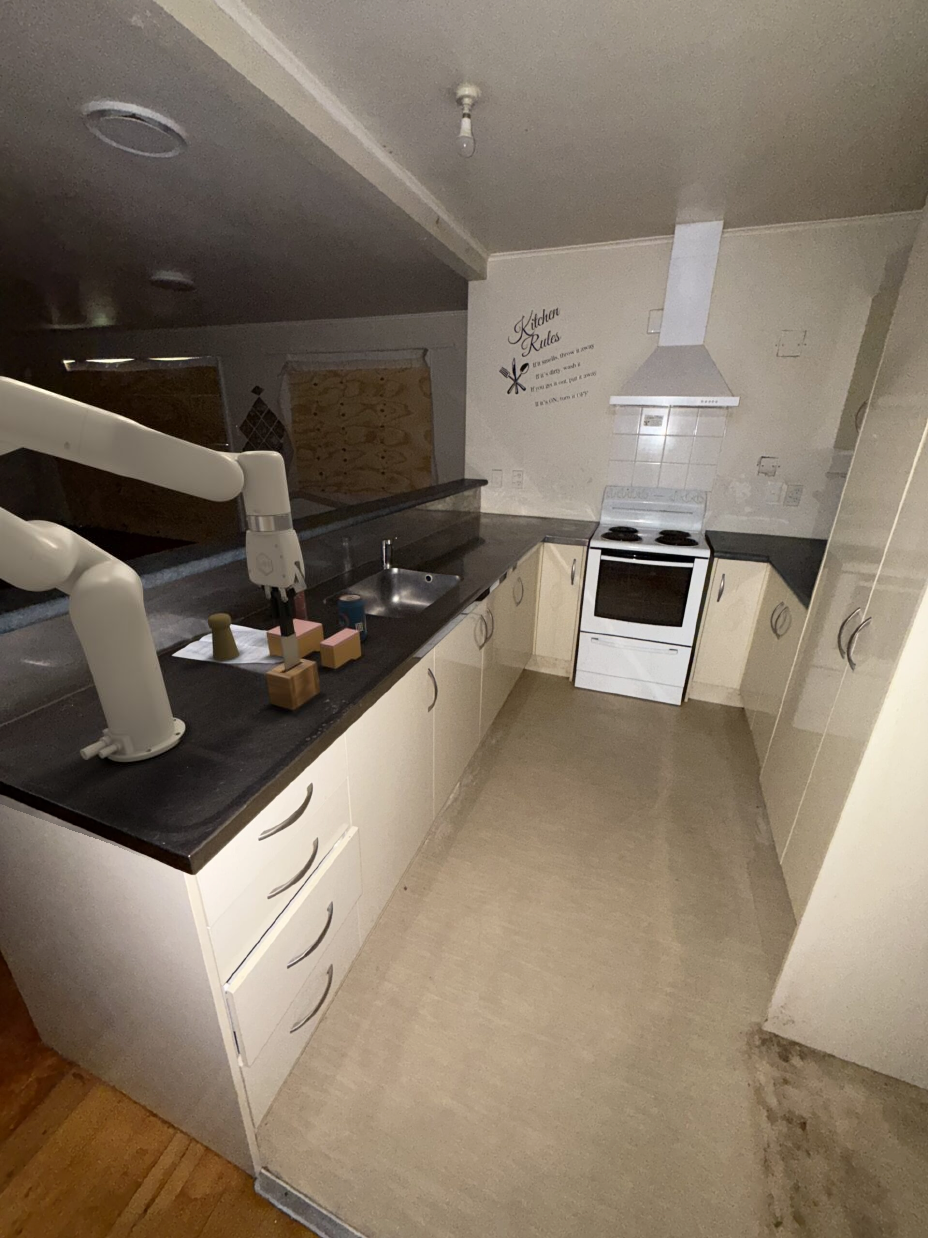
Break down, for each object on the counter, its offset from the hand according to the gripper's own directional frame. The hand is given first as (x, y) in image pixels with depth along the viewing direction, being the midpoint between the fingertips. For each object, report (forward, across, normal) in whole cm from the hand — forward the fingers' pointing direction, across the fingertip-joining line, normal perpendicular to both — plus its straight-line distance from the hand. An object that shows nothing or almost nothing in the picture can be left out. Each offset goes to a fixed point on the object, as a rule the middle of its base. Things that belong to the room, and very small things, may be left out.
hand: (284, 617), depth 94 cm
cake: (+19, -17, +19) cm, 32 cm away
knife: (+15, 0, 0) cm, 15 cm away
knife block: (+19, 0, 0) cm, 19 cm away
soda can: (+19, -9, +32) cm, 38 cm away
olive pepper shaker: (+19, -32, +10) cm, 39 cm away
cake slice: (+19, -3, +19) cm, 27 cm away
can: (+19, -27, +30) cm, 45 cm away
